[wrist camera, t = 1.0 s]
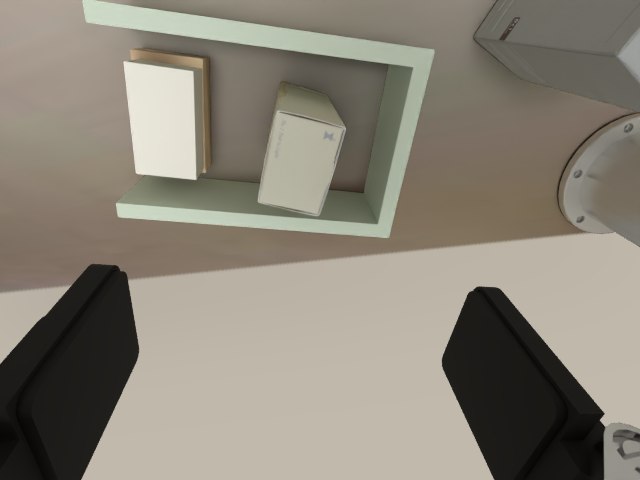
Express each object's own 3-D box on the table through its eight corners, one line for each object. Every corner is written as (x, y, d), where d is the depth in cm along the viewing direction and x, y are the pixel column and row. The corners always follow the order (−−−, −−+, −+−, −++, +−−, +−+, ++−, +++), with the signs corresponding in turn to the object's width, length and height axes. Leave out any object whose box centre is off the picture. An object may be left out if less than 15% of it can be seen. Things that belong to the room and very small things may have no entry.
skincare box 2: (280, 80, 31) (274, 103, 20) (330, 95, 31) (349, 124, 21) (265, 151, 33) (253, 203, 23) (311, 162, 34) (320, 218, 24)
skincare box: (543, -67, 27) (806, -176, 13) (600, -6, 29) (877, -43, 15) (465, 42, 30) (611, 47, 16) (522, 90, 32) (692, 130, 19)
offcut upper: (202, 68, 27) (193, 71, 25) (203, 168, 31) (196, 180, 29) (138, 59, 27) (123, 61, 24) (148, 162, 31) (136, 173, 28)
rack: (406, 47, 30) (435, 49, 24) (372, 204, 37) (388, 238, 31) (128, 7, 27) (82, -2, 21) (148, 185, 34) (118, 216, 28)
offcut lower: (210, 56, 30) (202, 59, 27) (212, 162, 34) (205, 172, 31) (144, 47, 29) (130, 49, 26) (154, 156, 33) (143, 166, 31)
